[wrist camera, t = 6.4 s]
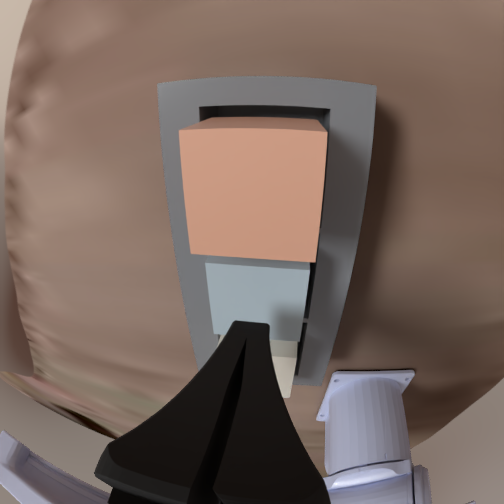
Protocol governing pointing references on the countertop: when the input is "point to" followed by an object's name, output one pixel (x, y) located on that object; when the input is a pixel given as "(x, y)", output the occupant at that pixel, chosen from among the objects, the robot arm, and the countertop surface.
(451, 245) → the countertop surface
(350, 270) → the grey slotted frame
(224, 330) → the key slate
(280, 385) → the key ivory
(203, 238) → the key terracotta
